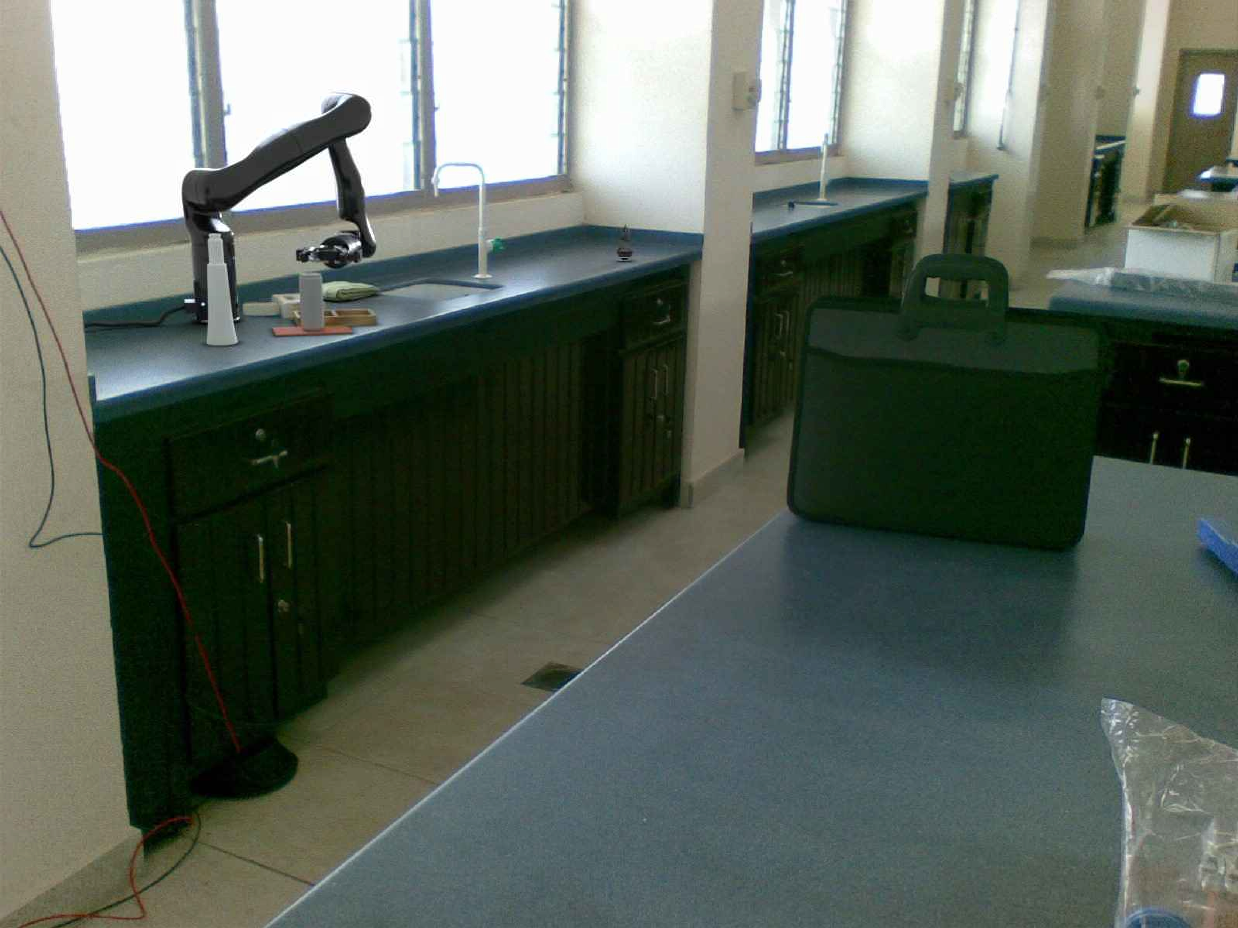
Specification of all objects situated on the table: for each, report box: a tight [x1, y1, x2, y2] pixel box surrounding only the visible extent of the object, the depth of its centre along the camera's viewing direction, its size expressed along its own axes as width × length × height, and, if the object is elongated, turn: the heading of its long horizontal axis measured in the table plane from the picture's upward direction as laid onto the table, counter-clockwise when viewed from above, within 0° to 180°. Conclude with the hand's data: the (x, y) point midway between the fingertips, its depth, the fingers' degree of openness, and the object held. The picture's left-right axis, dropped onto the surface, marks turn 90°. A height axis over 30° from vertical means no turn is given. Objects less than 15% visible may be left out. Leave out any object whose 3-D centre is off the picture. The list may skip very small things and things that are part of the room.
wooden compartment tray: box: [293, 308, 378, 327], centre depth 271 cm, size 17×9×2 cm, turn 110°
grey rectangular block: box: [298, 272, 324, 331], centre depth 258 cm, size 5×5×12 cm
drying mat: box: [272, 325, 354, 338], centre depth 260 cm, size 16×9×1 cm, turn 110°
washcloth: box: [322, 280, 380, 302], centre depth 308 cm, size 13×18×3 cm
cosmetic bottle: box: [206, 234, 238, 347], centre depth 242 cm, size 6×6×22 cm
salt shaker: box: [615, 223, 635, 260], centre depth 395 cm, size 6×6×12 cm
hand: (321, 258), depth 267 cm, fingers open, 8 cm apart
